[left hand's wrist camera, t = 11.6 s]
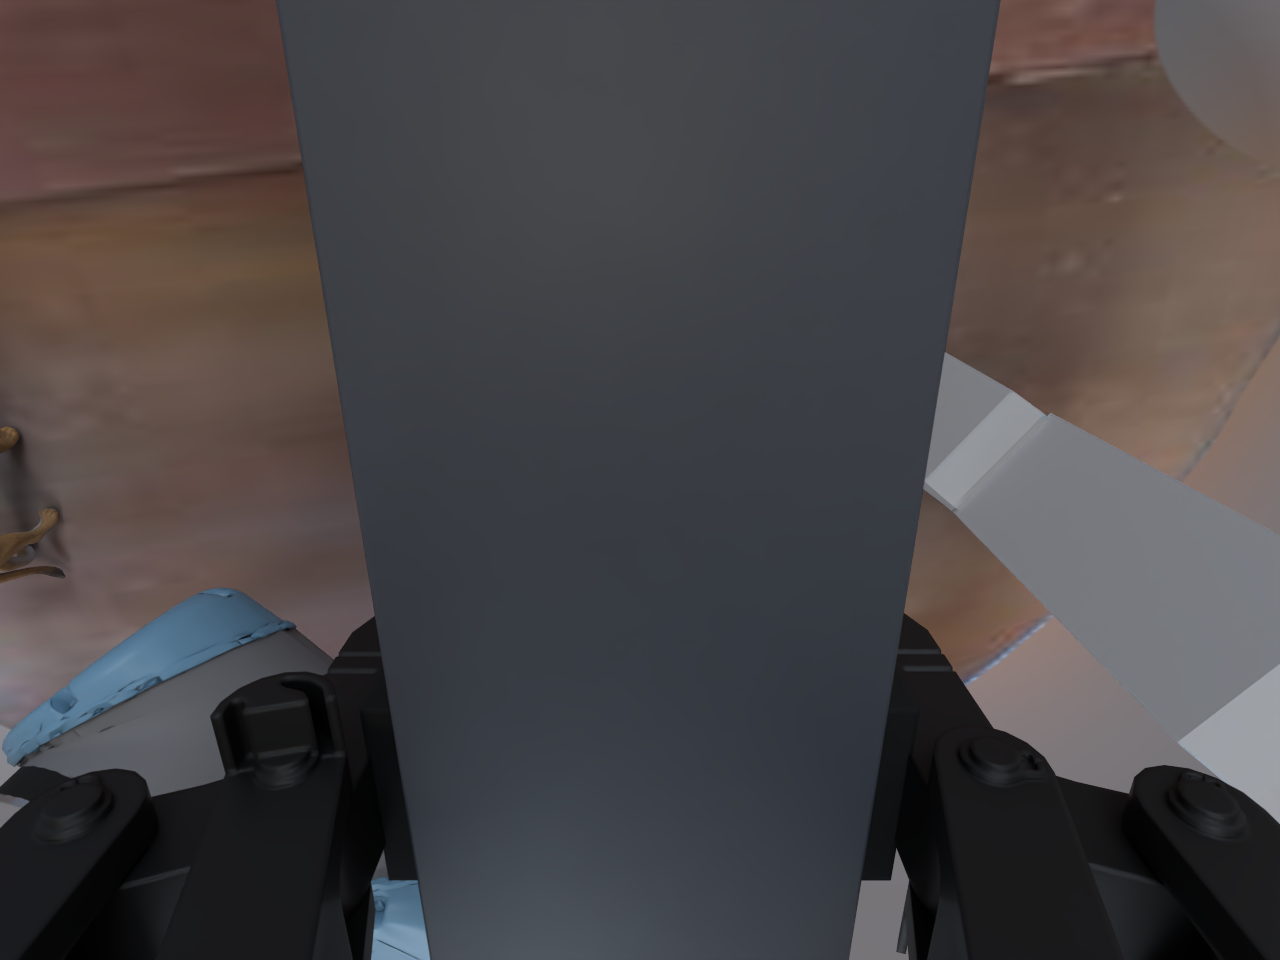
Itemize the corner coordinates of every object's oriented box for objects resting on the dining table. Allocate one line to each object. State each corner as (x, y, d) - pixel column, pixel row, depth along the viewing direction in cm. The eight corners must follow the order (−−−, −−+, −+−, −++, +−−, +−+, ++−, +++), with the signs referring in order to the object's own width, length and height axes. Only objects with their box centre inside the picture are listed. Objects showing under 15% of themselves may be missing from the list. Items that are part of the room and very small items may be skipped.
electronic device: (1049, 443, 49) (1592, 774, 21) (968, 522, 51) (1360, 917, 23) (919, 332, 46) (1342, 543, 18) (840, 421, 48) (1106, 731, 20)
